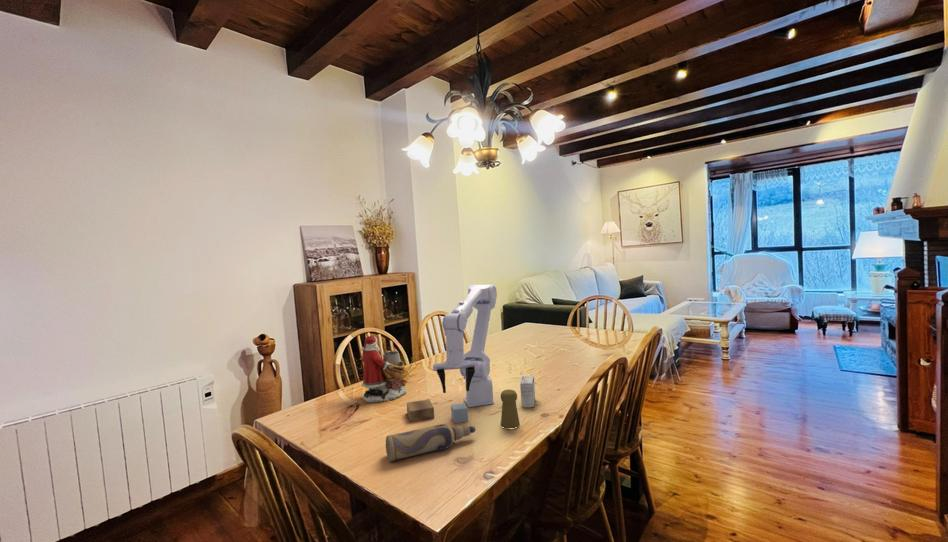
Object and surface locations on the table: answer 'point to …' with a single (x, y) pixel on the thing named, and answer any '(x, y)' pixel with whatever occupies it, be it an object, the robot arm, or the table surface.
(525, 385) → the medicine box
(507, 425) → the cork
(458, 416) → the slate cube
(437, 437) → the decorative bottle
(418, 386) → the table surface
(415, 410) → the walnut block
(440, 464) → the table surface
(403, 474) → the table surface
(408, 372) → the magic lamp
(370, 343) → the santa figurine
